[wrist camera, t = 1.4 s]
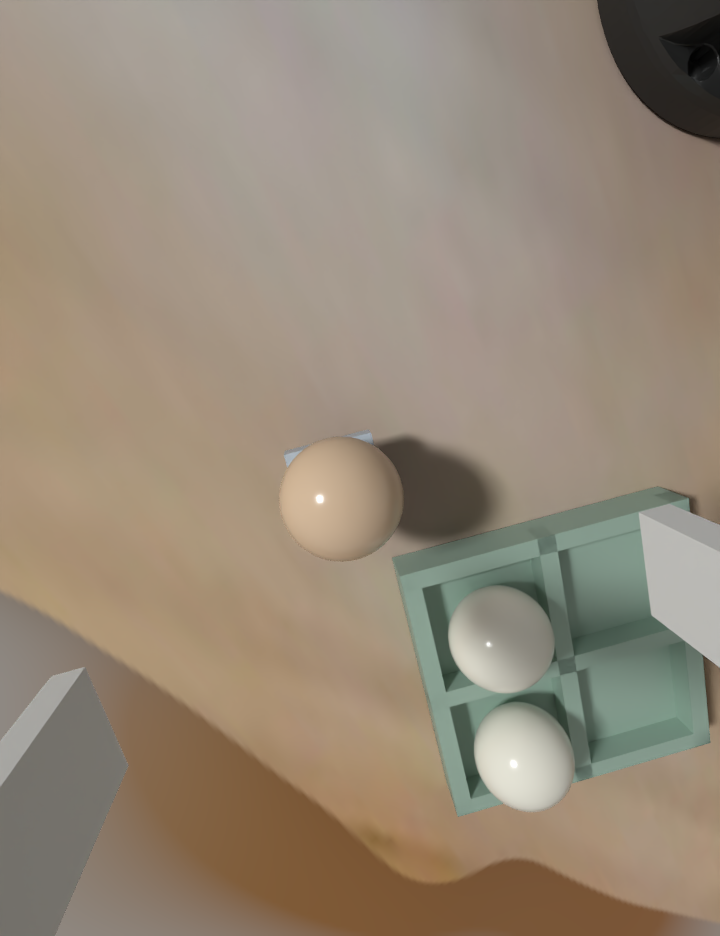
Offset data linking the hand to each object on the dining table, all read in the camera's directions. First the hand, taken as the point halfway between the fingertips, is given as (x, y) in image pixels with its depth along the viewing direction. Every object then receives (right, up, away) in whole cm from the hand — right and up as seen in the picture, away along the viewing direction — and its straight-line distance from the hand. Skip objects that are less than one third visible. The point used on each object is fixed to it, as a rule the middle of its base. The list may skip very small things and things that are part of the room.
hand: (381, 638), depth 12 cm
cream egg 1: (+7, -4, +18) cm, 19 cm away
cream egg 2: (+8, -12, +20) cm, 24 cm away
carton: (+11, -7, +20) cm, 24 cm away
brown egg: (-2, +3, +13) cm, 14 cm away
